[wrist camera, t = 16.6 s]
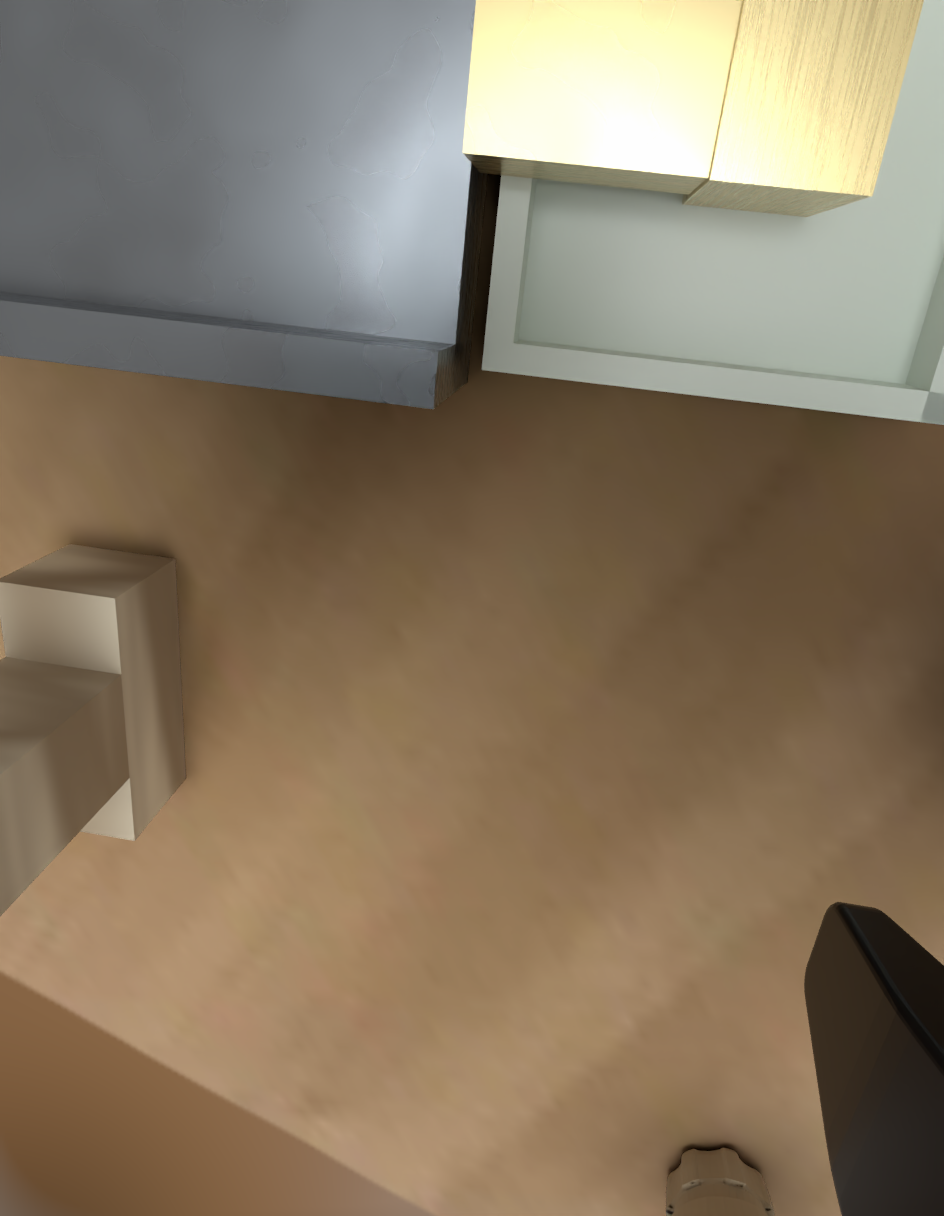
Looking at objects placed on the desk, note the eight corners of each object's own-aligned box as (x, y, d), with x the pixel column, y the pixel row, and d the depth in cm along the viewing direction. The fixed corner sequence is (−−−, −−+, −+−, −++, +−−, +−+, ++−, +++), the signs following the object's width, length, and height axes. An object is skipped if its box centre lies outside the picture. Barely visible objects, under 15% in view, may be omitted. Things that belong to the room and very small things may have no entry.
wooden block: (725, -36, 15) (864, -26, 15) (681, 203, 16) (806, 217, 16) (771, -143, 11) (958, -131, 11) (709, 180, 13) (872, 196, 12)
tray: (1120, -250, 13) (1195, -324, 12) (916, 412, 18) (950, 425, 16) (558, -277, 14) (554, -351, 13) (491, 362, 18) (481, 369, 17)
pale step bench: (176, 558, 21) (-83, 728, 13) (186, 777, 24) (-24, 1033, 16) (70, 543, 22) (-249, 701, 13) (92, 761, 24) (-162, 1005, 16)
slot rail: (534, -316, 14) (512, -567, 10) (467, 382, 19) (433, 409, 15) (-145, -347, 15) (-418, -584, 11) (-52, 319, 20) (-220, 328, 16)
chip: (738, -68, 14) (769, -140, 11) (689, 194, 15) (708, 178, 13) (505, -87, 14) (489, -161, 12) (480, 172, 15) (462, 152, 13)
